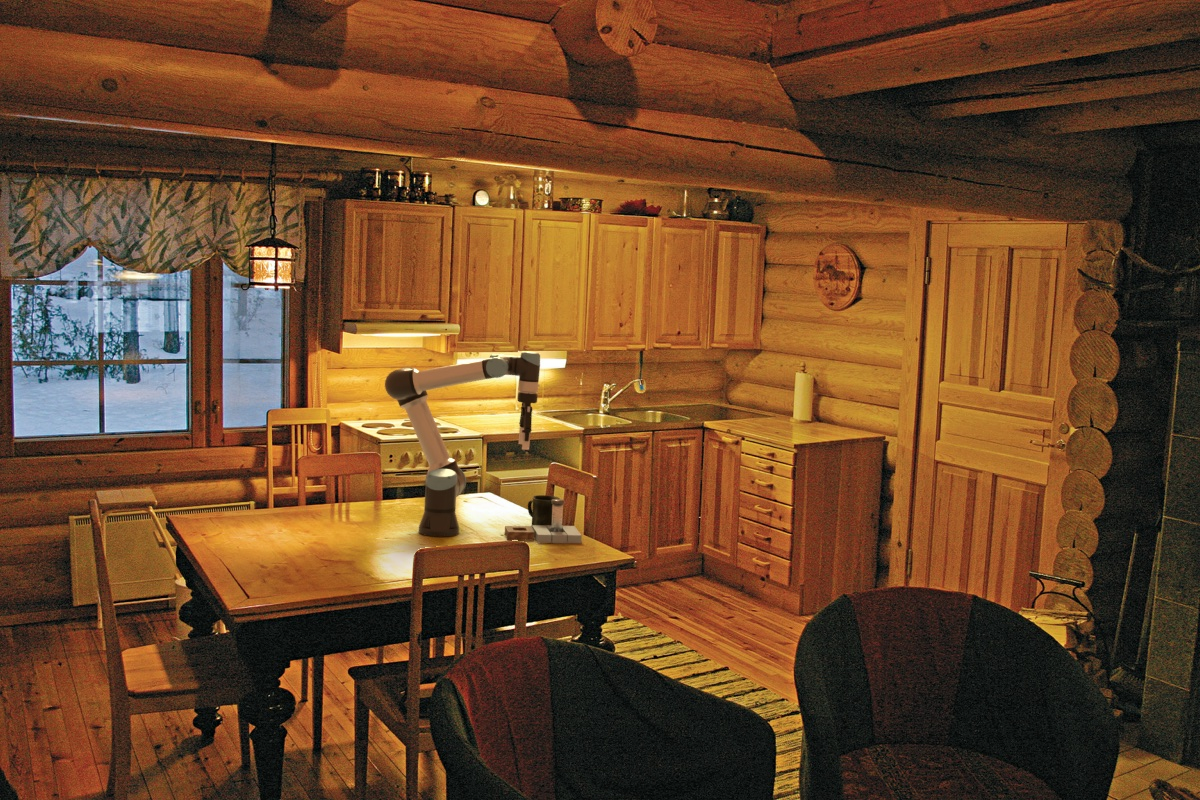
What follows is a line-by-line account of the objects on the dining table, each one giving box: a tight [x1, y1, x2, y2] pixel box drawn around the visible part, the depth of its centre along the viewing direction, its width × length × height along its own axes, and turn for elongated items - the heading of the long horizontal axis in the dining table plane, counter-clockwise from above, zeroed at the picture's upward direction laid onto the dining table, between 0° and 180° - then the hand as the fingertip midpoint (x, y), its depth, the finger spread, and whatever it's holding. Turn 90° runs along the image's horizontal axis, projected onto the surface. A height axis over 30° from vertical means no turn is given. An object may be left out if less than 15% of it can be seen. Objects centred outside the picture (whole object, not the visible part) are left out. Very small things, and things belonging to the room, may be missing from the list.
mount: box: [504, 525, 535, 541], centre depth 405 cm, size 10×10×3 cm
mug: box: [527, 494, 561, 526], centre depth 424 cm, size 11×15×12 cm
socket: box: [531, 524, 582, 544], centre depth 407 cm, size 17×17×3 cm
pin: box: [551, 498, 566, 532], centre depth 406 cm, size 5×5×15 cm
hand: (523, 446), depth 412 cm, fingers open, 13 cm apart
